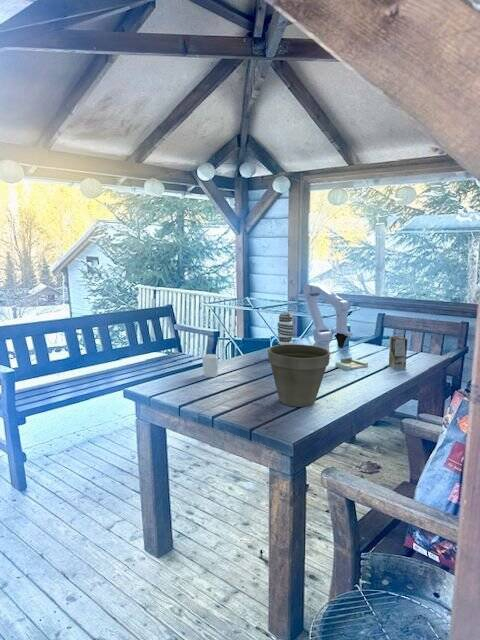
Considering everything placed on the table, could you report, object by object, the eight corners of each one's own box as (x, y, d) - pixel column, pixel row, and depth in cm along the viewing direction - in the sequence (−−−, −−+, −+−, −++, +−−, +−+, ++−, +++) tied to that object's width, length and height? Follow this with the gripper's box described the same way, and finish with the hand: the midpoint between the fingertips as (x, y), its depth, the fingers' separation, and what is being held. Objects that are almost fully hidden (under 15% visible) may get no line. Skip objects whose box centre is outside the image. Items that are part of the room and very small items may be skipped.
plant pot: (339, 400, 189) (341, 349, 186) (306, 417, 171) (307, 360, 168) (290, 388, 206) (291, 341, 202) (255, 402, 188) (255, 350, 184)
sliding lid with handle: (338, 365, 243) (338, 359, 242) (352, 363, 248) (352, 357, 247) (350, 369, 235) (351, 362, 235) (364, 366, 240) (365, 360, 240)
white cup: (221, 374, 229) (221, 355, 227) (213, 378, 221) (213, 358, 220) (207, 372, 232) (207, 353, 230) (199, 376, 225) (199, 356, 223)
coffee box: (406, 370, 236) (407, 339, 234) (393, 369, 236) (395, 339, 234) (400, 365, 245) (402, 336, 243) (388, 365, 245) (389, 335, 243)
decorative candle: (274, 354, 271) (274, 312, 267) (287, 353, 274) (288, 311, 270) (282, 357, 262) (282, 314, 258) (295, 356, 266) (296, 313, 262)
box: (335, 367, 242) (335, 362, 241) (355, 363, 249) (355, 359, 249) (347, 371, 234) (347, 366, 234) (367, 367, 242) (368, 362, 241)
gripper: (326, 321, 249) (326, 345, 252) (345, 325, 237) (344, 350, 239) (336, 320, 253) (335, 344, 255) (355, 324, 241) (354, 349, 243)
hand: (340, 347), depth 247 cm, fingers closed
